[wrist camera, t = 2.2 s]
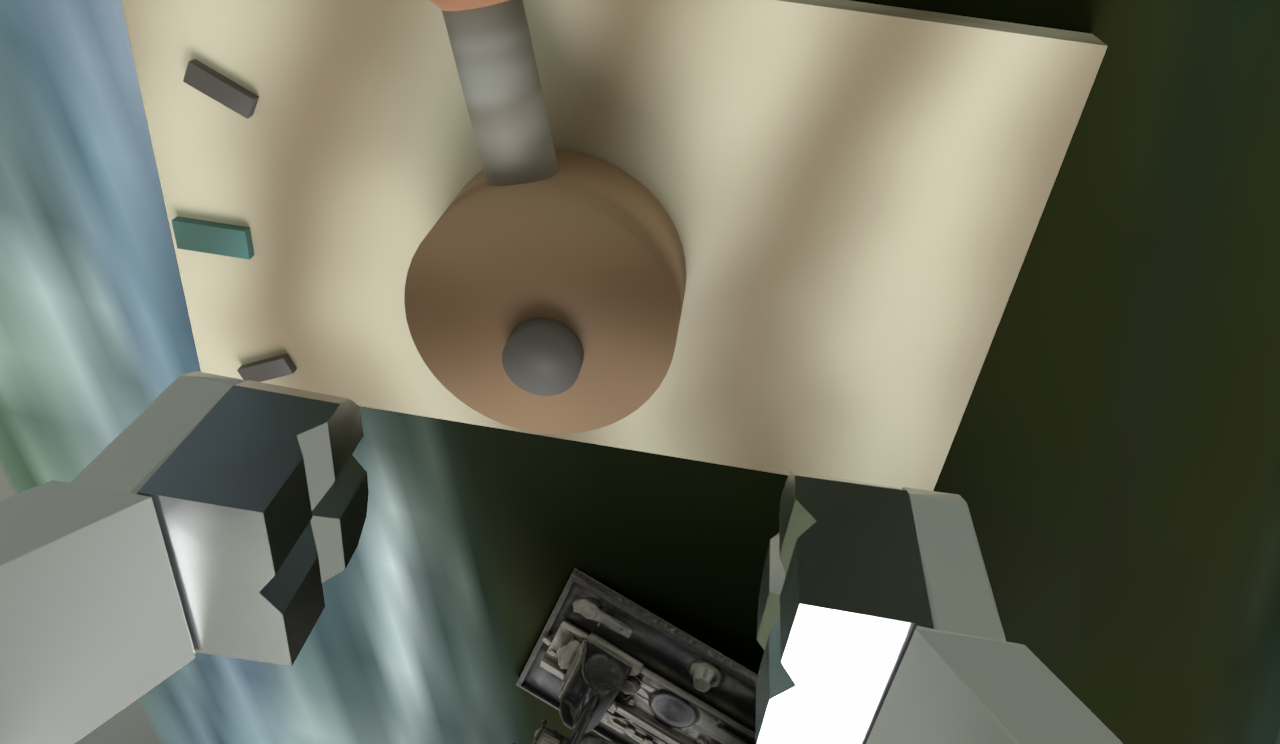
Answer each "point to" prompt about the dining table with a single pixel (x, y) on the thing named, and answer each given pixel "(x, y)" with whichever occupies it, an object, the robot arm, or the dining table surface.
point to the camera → (634, 676)
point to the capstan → (540, 257)
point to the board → (661, 161)
